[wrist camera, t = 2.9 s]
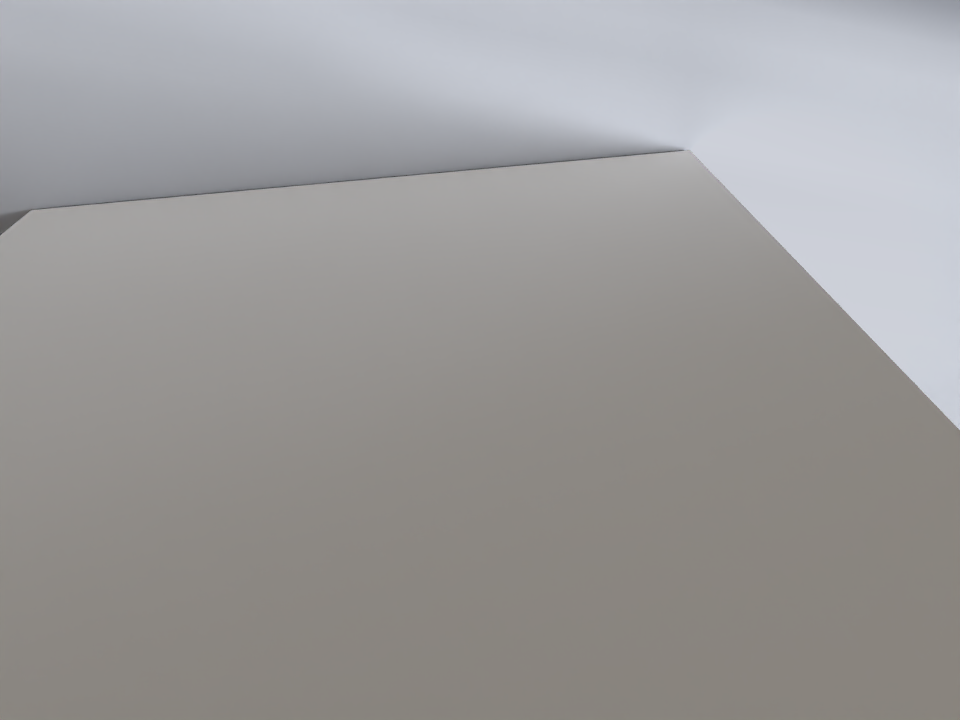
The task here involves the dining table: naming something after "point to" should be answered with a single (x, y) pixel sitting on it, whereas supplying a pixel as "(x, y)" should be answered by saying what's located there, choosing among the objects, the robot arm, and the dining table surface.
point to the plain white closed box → (461, 461)
